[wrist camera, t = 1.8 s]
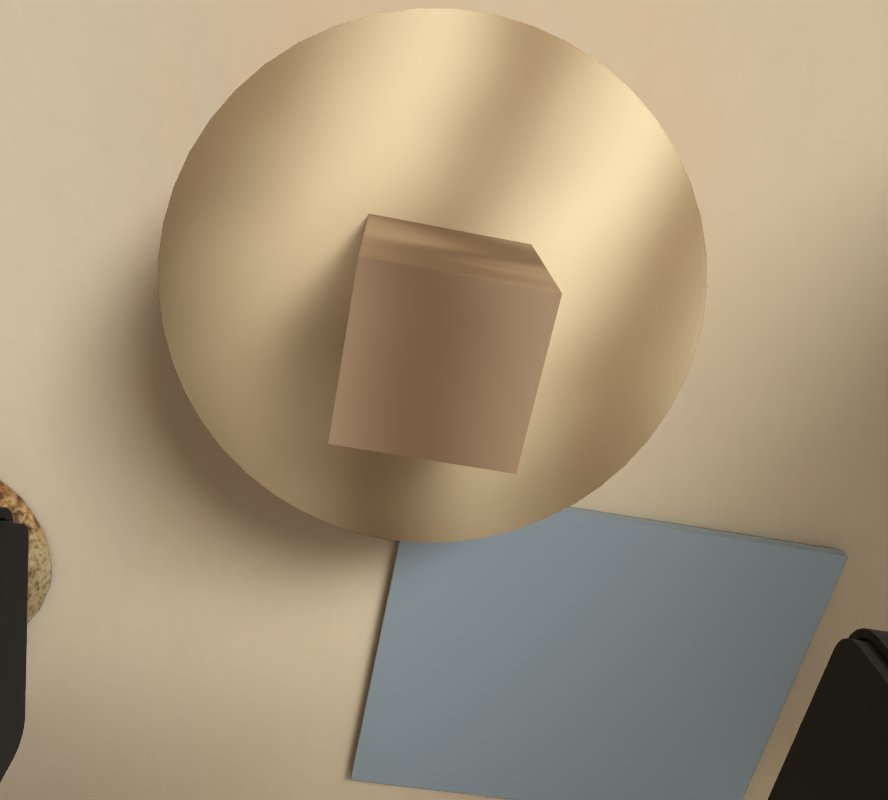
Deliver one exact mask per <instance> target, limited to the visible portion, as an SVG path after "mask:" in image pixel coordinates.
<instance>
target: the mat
mask: <svg viewBox="0 0 888 800" xmlns="http://www.w3.org/2000/svg"><path fill="white" fill-rule="evenodd" d="M846 560H847V555H846V554H845V553H844V552H843V551H842V550H838V549H831V548H825V547H819V546H812V545H806V544H800V543H793V542H787V541H781V540H775V539H768V538H762V537H756V536H749V535H743V534H737V533H730V532H724V531H718V530H711V529H705V528H699V527H693V526H686V525H680V524H674V523H667V522H661V521H655V520H648V519H642V518H636V517H629V516H623V515H617V514H611V513H604V512H598V511H592V510H585V509H579V508H573V507H567V508H565V509H563V510H561V511H559V512H557V513H555V514H553V515H552V516H550V517H548V518H546V519H543V520H541V521H538V522H535V523H533V524H530V525H527V526H525V527H522V528H519V529H517V530H513V531H509V532H505V533H501V534H497V535H493V536H490V537H486V538H479V539H472V540H464V541H457V542H430V543H419V542H408V541H399V542H398V547H397V552H396V557H395V562H394V567H393V572H392V577H391V582H390V586H389V591H388V596H387V601H386V606H385V611H384V616H383V621H382V626H381V630H380V635H379V640H378V645H377V650H376V655H375V660H374V665H373V669H372V674H371V679H370V684H369V689H368V694H367V699H366V704H365V709H364V713H363V718H362V723H361V728H360V733H359V738H358V743H357V748H356V753H355V757H354V762H353V767H352V773H351V780H354V781H362V782H370V783H379V784H387V785H395V786H404V787H412V788H420V789H429V790H437V791H445V792H454V793H462V794H470V795H478V796H487V797H495V798H503V799H512V800H742V799H743V796H744V794H745V792H746V790H747V787H748V785H749V783H750V780H751V778H752V776H753V773H754V771H755V769H756V767H757V764H758V762H759V760H760V757H761V755H762V753H763V750H764V748H765V746H766V744H767V741H768V739H769V737H770V734H771V732H772V730H773V727H774V725H775V723H776V721H777V718H778V716H779V714H780V711H781V709H782V707H783V704H784V702H785V700H786V698H787V695H788V693H789V691H790V688H791V686H792V684H793V681H794V679H795V677H796V675H797V672H798V670H799V668H800V665H801V663H802V661H803V658H804V656H805V654H806V652H807V649H808V647H809V645H810V642H811V640H812V638H813V636H814V633H815V631H816V629H817V626H818V624H819V622H820V619H821V617H822V615H823V613H824V610H825V608H826V606H827V603H828V601H829V599H830V596H831V594H832V592H833V590H834V587H835V585H836V583H837V580H838V578H839V576H840V573H841V571H842V569H843V567H844V564H845V562H846Z"/></svg>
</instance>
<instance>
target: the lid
mask: <svg viewBox="0 0 888 800" xmlns="http://www.w3.org/2000/svg"><path fill="white" fill-rule="evenodd" d="M706 290H707V267H706V247H705V241H704V234H703V228H702V221H701V216H700V213H699V209H698V206H697V202H696V199H695V196H694V192H693V189H692V186H691V182H690V180H689V178H688V176H687V174H686V171H685V169H684V167H683V165H682V163H681V160H680V158H679V156H678V154H677V152H676V150H675V148H674V146H673V145H672V143H671V142H670V140H669V139H668V137H667V135H666V134H665V132H664V131H663V129H662V128H661V126H660V124H659V123H658V121H657V120H656V118H655V117H654V116H653V115H652V113H651V112H650V111H649V110H648V109H647V108H646V106H645V105H644V104H643V103H642V102H641V101H640V99H639V98H638V97H637V96H636V95H635V94H634V93H633V91H632V90H631V89H630V88H629V87H628V86H626V85H625V84H624V83H623V82H622V81H621V80H620V79H618V78H617V77H616V76H615V75H614V74H613V73H612V72H610V71H609V70H608V69H607V68H606V67H605V66H604V65H602V64H601V63H600V62H598V61H597V60H595V59H593V58H592V57H590V56H589V55H587V54H586V53H584V52H583V51H581V50H580V49H578V48H576V47H575V46H573V45H572V44H570V43H569V42H567V41H564V40H562V39H560V38H558V37H556V36H554V35H551V34H549V33H547V32H545V31H543V30H541V29H538V28H536V27H534V26H531V25H528V24H525V23H521V22H518V21H515V20H511V19H508V18H504V17H501V16H498V15H494V14H488V13H481V12H474V11H467V10H460V9H408V10H401V11H394V12H387V13H380V14H374V15H370V16H367V17H363V18H360V19H357V20H353V21H350V22H346V23H343V24H340V25H336V26H334V27H331V28H329V29H327V30H325V31H323V32H321V33H318V34H316V35H314V36H312V37H310V38H308V39H305V40H303V41H301V42H299V43H297V44H296V45H294V46H292V47H291V48H289V49H288V50H286V51H285V52H283V53H282V54H280V55H279V56H277V57H276V58H274V59H272V60H271V61H269V62H268V63H266V64H265V65H264V66H262V67H261V68H260V69H259V70H258V71H257V72H256V73H254V74H253V75H252V76H251V77H250V78H249V79H248V80H246V81H245V82H244V83H243V84H242V85H241V86H240V87H238V88H237V89H236V90H235V91H234V92H233V93H232V95H231V96H230V97H229V98H228V99H227V101H226V102H225V103H224V104H223V105H222V106H221V108H220V109H219V110H218V111H217V112H216V113H215V115H214V116H213V117H212V118H211V119H210V120H209V122H208V124H207V125H206V127H205V128H204V130H203V132H202V133H201V135H200V136H199V138H198V139H197V141H196V143H195V144H194V146H193V147H192V149H191V150H190V152H189V154H188V156H187V159H186V161H185V163H184V165H183V168H182V170H181V172H180V174H179V176H178V179H177V181H176V183H175V185H174V188H173V192H172V195H171V198H170V202H169V205H168V209H167V212H166V216H165V219H164V223H163V230H162V237H161V244H160V251H159V271H158V294H159V302H160V309H161V317H162V324H163V330H164V334H165V337H166V341H167V345H168V348H169V352H170V356H171V360H172V363H173V365H174V367H175V370H176V372H177V375H178V377H179V379H180V382H181V384H182V387H183V389H184V391H185V394H186V395H187V397H188V399H189V400H190V402H191V404H192V406H193V407H194V409H195V411H196V412H197V414H198V416H199V418H200V419H201V421H202V423H203V424H204V425H205V427H206V428H207V429H208V431H209V432H210V433H211V434H212V436H213V437H214V438H215V440H216V441H217V442H218V444H219V445H220V446H221V448H222V449H223V450H224V451H225V452H226V453H227V454H228V455H229V456H230V457H231V458H232V459H233V460H234V461H235V462H236V463H237V464H238V465H239V466H240V467H241V468H242V469H243V470H244V471H245V472H246V473H247V474H248V475H250V476H251V477H252V478H253V479H255V480H256V481H257V482H258V483H260V484H261V485H262V486H263V487H265V488H266V489H267V490H268V491H270V492H271V493H273V494H274V495H276V496H277V497H279V498H281V499H282V500H284V501H285V502H287V503H289V504H290V505H292V506H294V507H295V508H297V509H298V510H301V511H303V512H305V513H307V514H309V515H311V516H313V517H316V518H318V519H320V520H322V521H324V522H326V523H329V524H332V525H335V526H338V527H341V528H344V529H347V530H350V531H353V532H356V533H359V534H364V535H369V536H374V537H379V538H383V539H388V540H397V541H408V542H419V543H430V542H457V541H464V540H472V539H479V538H486V537H490V536H493V535H497V534H501V533H505V532H509V531H513V530H517V529H519V528H522V527H525V526H527V525H530V524H533V523H535V522H538V521H541V520H543V519H546V518H548V517H550V516H552V515H553V514H555V513H557V512H559V511H561V510H563V509H565V508H567V507H569V506H571V505H573V504H575V503H576V502H578V501H579V500H581V499H582V498H584V497H585V496H587V495H588V494H590V493H591V492H593V491H594V490H596V489H597V488H599V487H600V486H601V485H602V484H604V483H605V482H606V481H607V480H608V479H609V478H611V477H612V476H613V475H614V474H615V473H616V472H618V471H619V470H620V469H621V468H622V467H624V466H625V465H626V464H627V462H628V461H629V460H630V459H631V458H632V457H633V456H634V455H635V454H636V453H637V452H638V451H639V449H640V448H641V447H642V446H643V445H644V444H645V443H646V442H647V441H648V439H649V438H650V437H651V435H652V434H653V432H654V431H655V430H656V428H657V427H658V425H659V424H660V423H661V421H662V420H663V418H664V417H665V416H666V414H667V412H668V411H669V409H670V407H671V405H672V403H673V401H674V400H675V398H676V396H677V394H678V392H679V390H680V389H681V387H682V385H683V382H684V380H685V377H686V375H687V372H688V370H689V367H690V365H691V362H692V359H693V357H694V354H695V350H696V346H697V342H698V339H699V335H700V331H701V327H702V323H703V316H704V307H705V299H706Z"/></svg>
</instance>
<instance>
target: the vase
mask: <svg viewBox="0 0 888 800" xmlns="http://www.w3.org/2000/svg"><path fill="white" fill-rule="evenodd" d="M0 507H6V508H8V509H9V510H10V511H11V513H12V516H13V522H15V523H22V524H25V525H26V526H27V528H28V533H29V552H28V598H27V623H28V622H29V621H30V620H31V619H32V617H33V616H34V615H35V614H36V613H37V611H38V610H39V609H40V607H41V605H42V603H43V601H44V599H45V596H46V594H47V592H48V589H49V587H50V582H51V576H52V571H51V559H50V553H49V548H48V545H47V541H46V537H45V534H44V532H43V530H42V528H41V526H40V525H39V523H38V522H37V520H36V518H35V517H34V515H33V513H32V512H31V510H30V509H29V508H28V506H27V505H26V504H25V502H24V501H23V500H22V498H21V497H20V496H19V495H18V494H16V493H15V492H14V491H13V490H11V489H10V488H9V487H8V486H6V485H5V484H4V483H3V482H1V481H0Z"/></svg>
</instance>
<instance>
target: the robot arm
mask: <svg viewBox="0 0 888 800" xmlns="http://www.w3.org/2000/svg"><path fill="white" fill-rule="evenodd" d="M28 552H29V533H28V528H27V526H26V525H25V524H22V523H15V522H13V516H12V513H11V511H10V510H9V509H8V508H6V507H0V782H1V780H2V778H3V776H4V774H5V773H6V771H7V769H8V767H9V765H10V763H11V762H12V760H13V758H14V756H15V754H16V752H17V749H18V746H19V744H20V741H21V737H22V734H23V729H24V722H25V689H26V644H27V598H28ZM768 800H888V632H886V631H879V630H872V629H865V628H863V629H858V630H856V631H855V632H853V633H852V634H851V635H850V637H849V638H847V639H842V640H841V641H840V642H838V644H837V645H836V647H835V648H834V651H833V653H832V655H831V657H830V660H829V662H828V664H827V667H826V669H825V671H824V673H823V676H822V678H821V680H820V682H819V685H818V687H817V689H816V691H815V694H814V696H813V698H812V701H811V703H810V705H809V707H808V710H807V712H806V714H805V716H804V719H803V721H802V723H801V725H800V728H799V730H798V732H797V735H796V737H795V739H794V741H793V744H792V746H791V748H790V750H789V753H788V755H787V757H786V759H785V762H784V764H783V766H782V769H781V771H780V773H779V775H778V778H777V780H776V782H775V784H774V787H773V789H772V791H771V793H770V796H769V798H768Z"/></svg>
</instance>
